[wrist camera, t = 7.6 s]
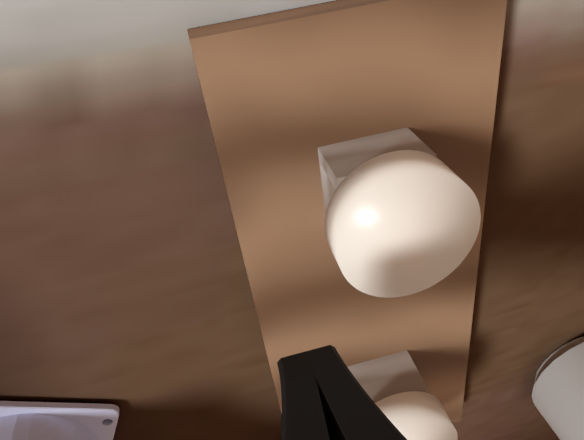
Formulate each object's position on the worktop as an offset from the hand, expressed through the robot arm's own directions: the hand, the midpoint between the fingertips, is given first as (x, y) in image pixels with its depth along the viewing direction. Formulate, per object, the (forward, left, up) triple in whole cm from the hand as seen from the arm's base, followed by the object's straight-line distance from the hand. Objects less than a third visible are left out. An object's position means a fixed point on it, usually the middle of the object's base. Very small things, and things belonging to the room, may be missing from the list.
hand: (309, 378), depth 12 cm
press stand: (-4, -7, -10) cm, 13 cm away
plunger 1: (+2, -4, -8) cm, 10 cm away
